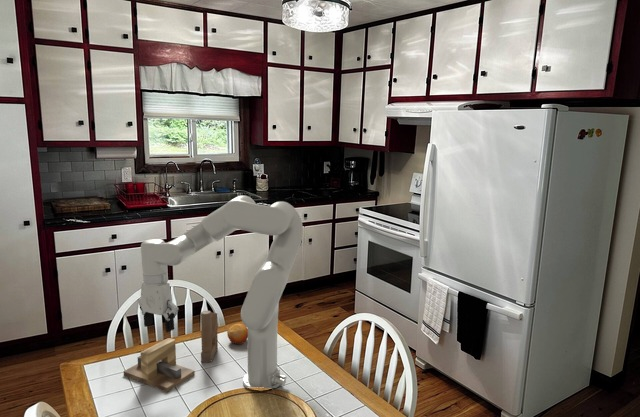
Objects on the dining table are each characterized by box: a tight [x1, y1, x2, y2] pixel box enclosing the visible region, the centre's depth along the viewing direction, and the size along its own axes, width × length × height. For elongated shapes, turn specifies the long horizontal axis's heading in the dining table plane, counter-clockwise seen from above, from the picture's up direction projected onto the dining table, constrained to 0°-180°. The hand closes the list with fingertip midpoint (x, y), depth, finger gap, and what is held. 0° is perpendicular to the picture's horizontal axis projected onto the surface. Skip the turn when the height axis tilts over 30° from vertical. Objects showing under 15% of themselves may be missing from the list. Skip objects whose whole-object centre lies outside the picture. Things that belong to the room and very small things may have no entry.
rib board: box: [123, 355, 196, 393], centre depth 154 cm, size 20×12×4 cm, turn 62°
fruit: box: [226, 323, 248, 345], centre depth 179 cm, size 8×8×8 cm
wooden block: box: [200, 310, 219, 363], centre depth 167 cm, size 4×11×18 cm, turn 179°
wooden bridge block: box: [140, 337, 177, 380], centre depth 153 cm, size 3×12×9 cm, turn 152°
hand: (159, 328), depth 151 cm, fingers open, 9 cm apart
